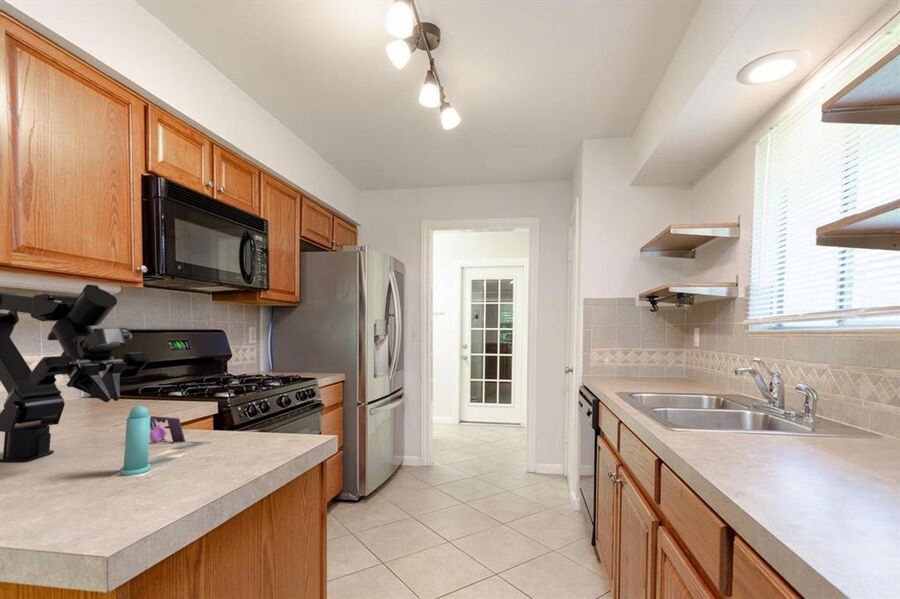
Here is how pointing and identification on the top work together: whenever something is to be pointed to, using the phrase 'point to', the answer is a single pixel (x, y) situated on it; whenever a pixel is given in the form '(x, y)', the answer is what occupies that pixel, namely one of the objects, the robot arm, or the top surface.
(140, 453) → the pawn
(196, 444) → the board
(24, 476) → the top surface
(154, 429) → the purple piece
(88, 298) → the robot arm
